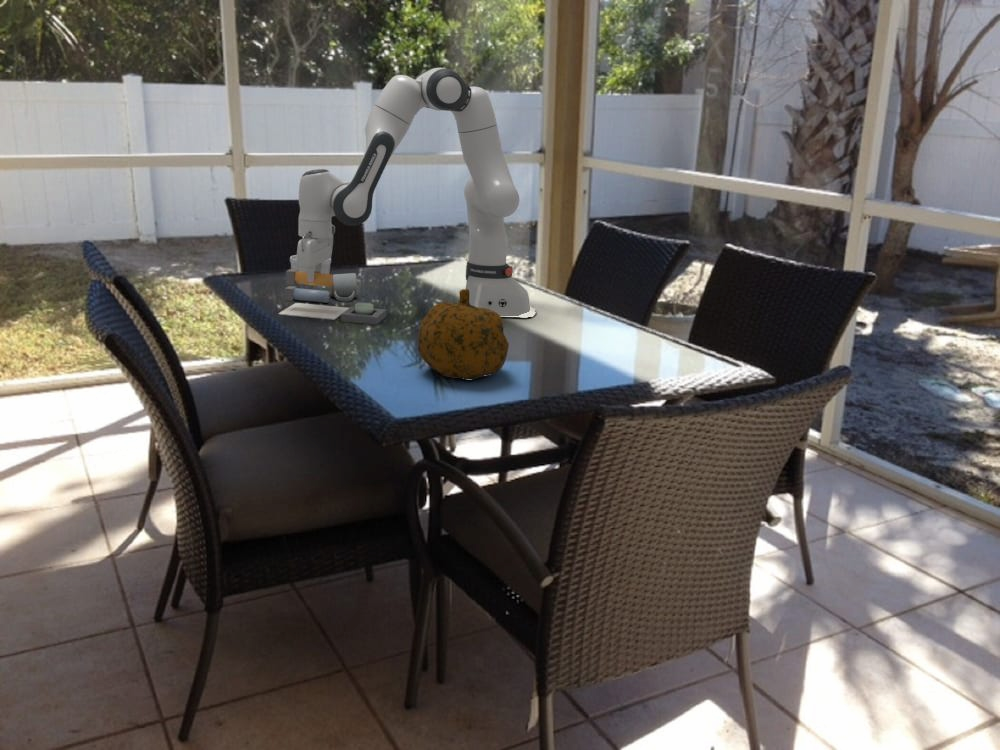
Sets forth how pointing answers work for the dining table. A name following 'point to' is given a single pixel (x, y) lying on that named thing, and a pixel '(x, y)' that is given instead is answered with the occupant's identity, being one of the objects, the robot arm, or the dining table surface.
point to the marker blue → (306, 295)
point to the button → (364, 308)
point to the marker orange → (302, 278)
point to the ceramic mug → (344, 287)
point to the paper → (314, 311)
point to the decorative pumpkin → (462, 339)
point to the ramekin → (294, 266)
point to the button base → (363, 316)
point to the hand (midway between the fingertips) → (314, 279)
